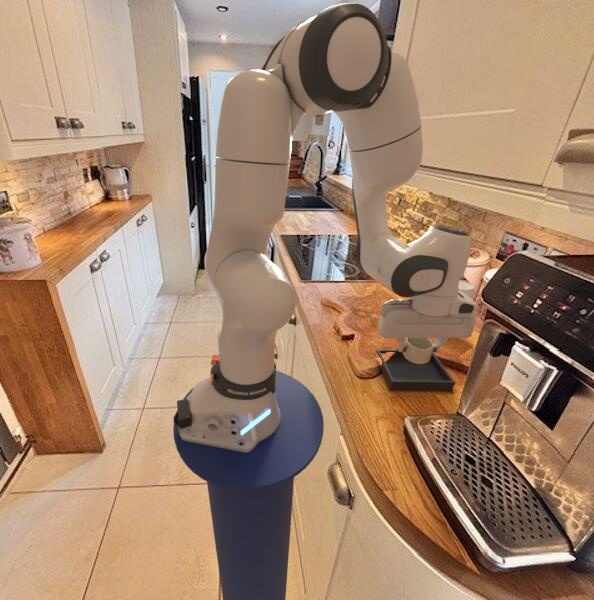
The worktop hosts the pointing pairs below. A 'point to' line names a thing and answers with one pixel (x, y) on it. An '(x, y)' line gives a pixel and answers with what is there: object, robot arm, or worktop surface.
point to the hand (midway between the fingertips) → (417, 350)
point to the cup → (418, 350)
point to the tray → (415, 374)
